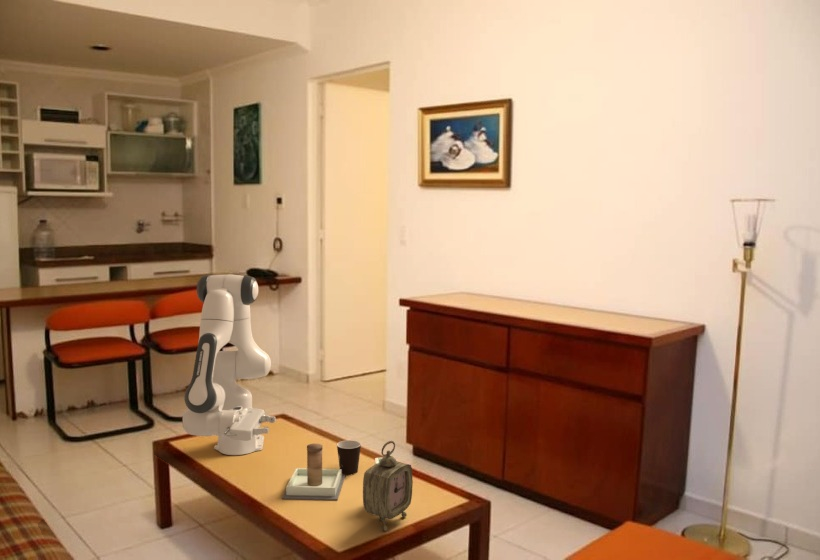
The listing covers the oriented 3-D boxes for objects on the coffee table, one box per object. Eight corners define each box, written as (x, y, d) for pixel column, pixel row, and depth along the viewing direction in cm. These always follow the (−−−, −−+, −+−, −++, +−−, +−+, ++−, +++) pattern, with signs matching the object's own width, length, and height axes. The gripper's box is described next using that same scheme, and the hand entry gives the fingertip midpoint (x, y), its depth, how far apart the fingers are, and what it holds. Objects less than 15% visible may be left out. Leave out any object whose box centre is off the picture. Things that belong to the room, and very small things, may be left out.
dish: (296, 475, 236) (296, 468, 236) (341, 476, 236) (341, 469, 235) (286, 495, 220) (286, 486, 220) (335, 496, 220) (335, 487, 219)
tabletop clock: (385, 535, 195) (386, 451, 192) (360, 527, 200) (360, 445, 197) (412, 516, 207) (413, 437, 204) (387, 509, 212) (388, 432, 209)
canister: (308, 480, 231) (308, 443, 229) (323, 480, 230) (323, 443, 229) (305, 486, 225) (305, 448, 224) (321, 486, 225) (321, 449, 224)
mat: (294, 474, 238) (294, 473, 238) (345, 476, 238) (345, 474, 238) (281, 499, 218) (281, 497, 218) (337, 500, 218) (337, 498, 218)
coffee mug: (357, 476, 237) (357, 449, 236) (333, 474, 239) (333, 447, 238) (365, 464, 248) (365, 438, 247) (343, 462, 250) (343, 436, 249)
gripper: (221, 426, 218) (264, 427, 217) (239, 404, 238) (278, 405, 237) (222, 444, 219) (264, 446, 218) (239, 421, 239) (278, 422, 239)
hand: (271, 424), depth 228 cm, fingers open, 8 cm apart
